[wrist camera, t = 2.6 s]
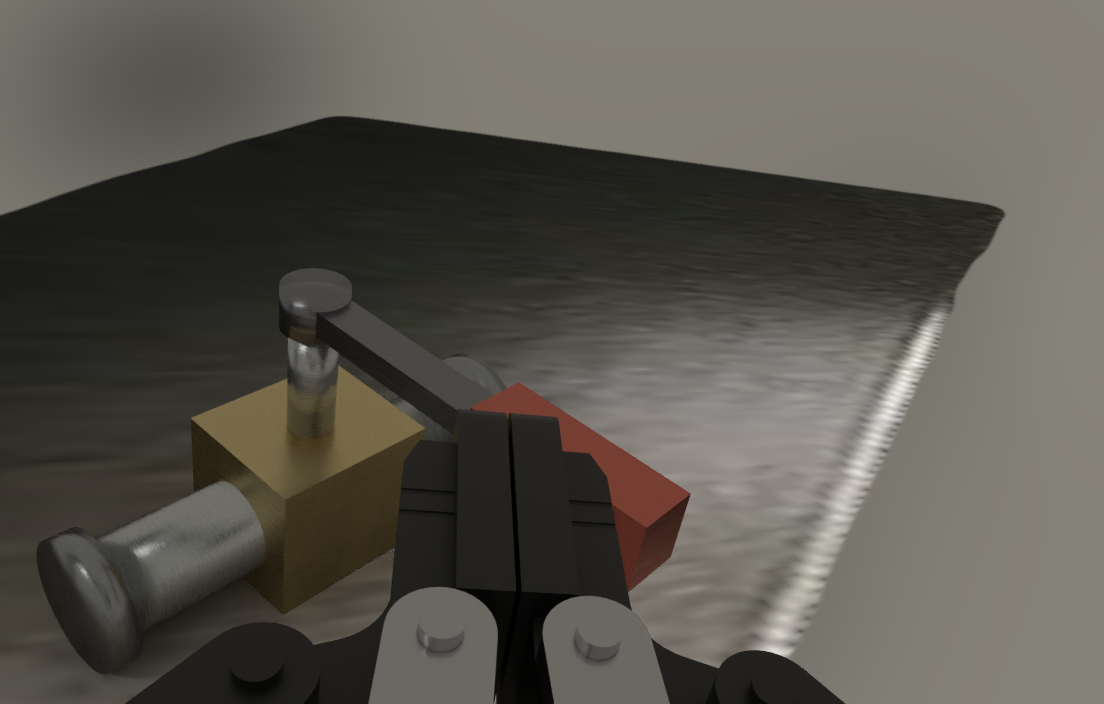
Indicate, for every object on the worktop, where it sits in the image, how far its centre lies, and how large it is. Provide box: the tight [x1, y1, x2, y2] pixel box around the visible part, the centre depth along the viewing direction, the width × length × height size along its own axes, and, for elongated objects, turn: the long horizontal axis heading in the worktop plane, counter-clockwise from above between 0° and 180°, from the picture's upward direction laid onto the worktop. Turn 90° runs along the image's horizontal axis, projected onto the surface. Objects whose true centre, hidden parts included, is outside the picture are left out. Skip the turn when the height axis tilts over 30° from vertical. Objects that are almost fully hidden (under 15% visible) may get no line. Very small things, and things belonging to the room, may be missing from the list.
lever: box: [279, 268, 690, 592], centre depth 38 cm, size 20×3×3 cm, turn 49°
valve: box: [37, 338, 506, 674], centre depth 46 cm, size 23×7×12 cm, turn 139°
